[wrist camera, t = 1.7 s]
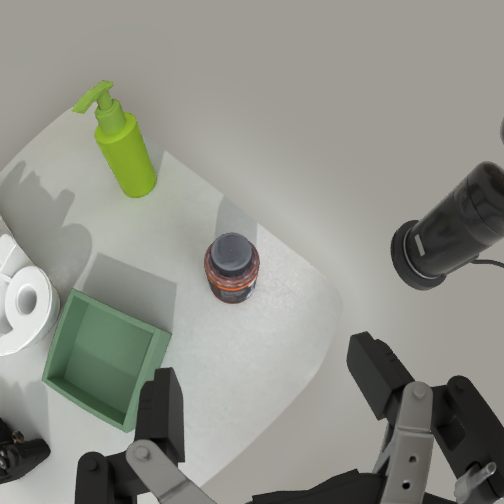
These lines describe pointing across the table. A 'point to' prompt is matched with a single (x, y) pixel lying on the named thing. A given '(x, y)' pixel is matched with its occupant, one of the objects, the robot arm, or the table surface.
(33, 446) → the film camera
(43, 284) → the white letter sculpture
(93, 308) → the green square tray
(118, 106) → the soap dispenser
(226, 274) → the supplement bottle
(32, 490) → the table surface
